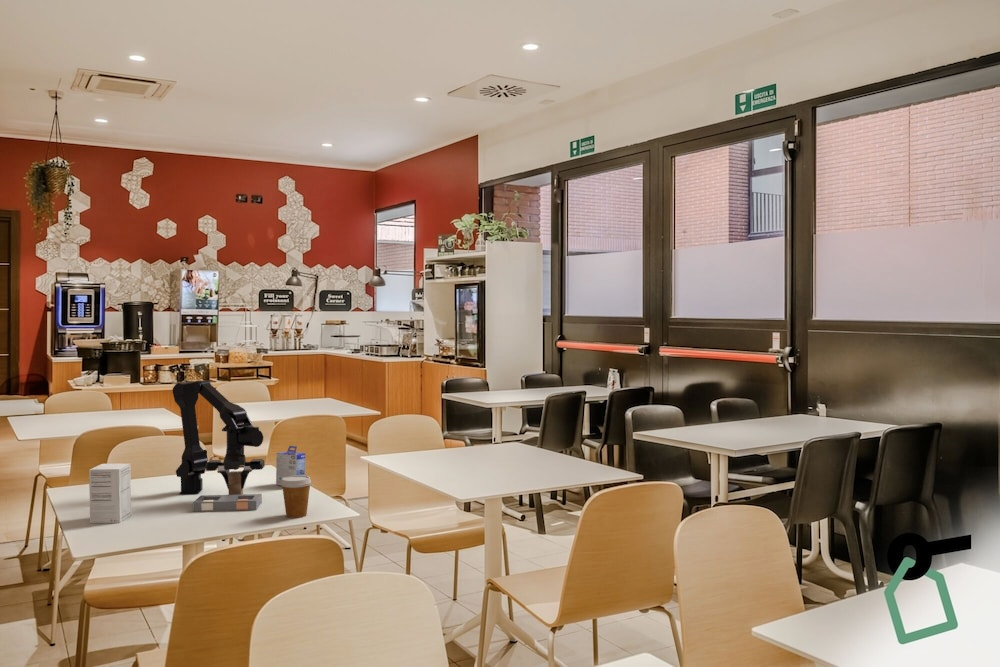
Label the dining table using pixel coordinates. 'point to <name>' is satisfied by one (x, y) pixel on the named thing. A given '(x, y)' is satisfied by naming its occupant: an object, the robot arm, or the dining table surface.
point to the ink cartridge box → (289, 464)
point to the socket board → (227, 502)
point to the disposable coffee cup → (296, 495)
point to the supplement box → (110, 493)
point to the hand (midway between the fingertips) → (235, 489)
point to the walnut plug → (235, 482)
